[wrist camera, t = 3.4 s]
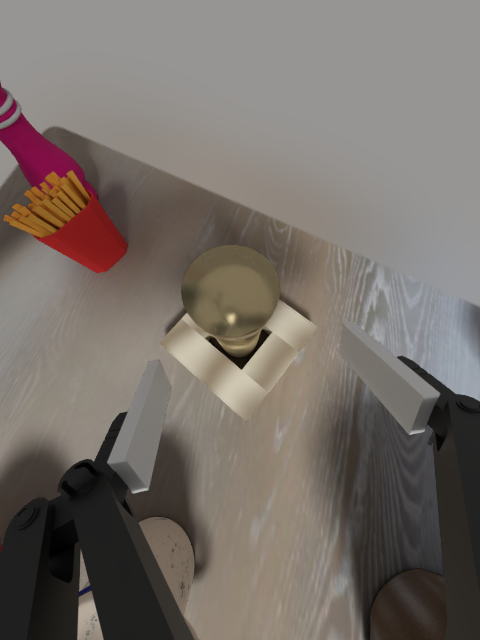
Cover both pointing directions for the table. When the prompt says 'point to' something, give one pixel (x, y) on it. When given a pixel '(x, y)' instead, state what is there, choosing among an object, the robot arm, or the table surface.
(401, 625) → the plant pot
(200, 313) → the gold stepped cylinder
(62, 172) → the pepper mill
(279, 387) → the table surface
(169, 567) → the teacup with lid
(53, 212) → the french fries
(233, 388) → the socket block
